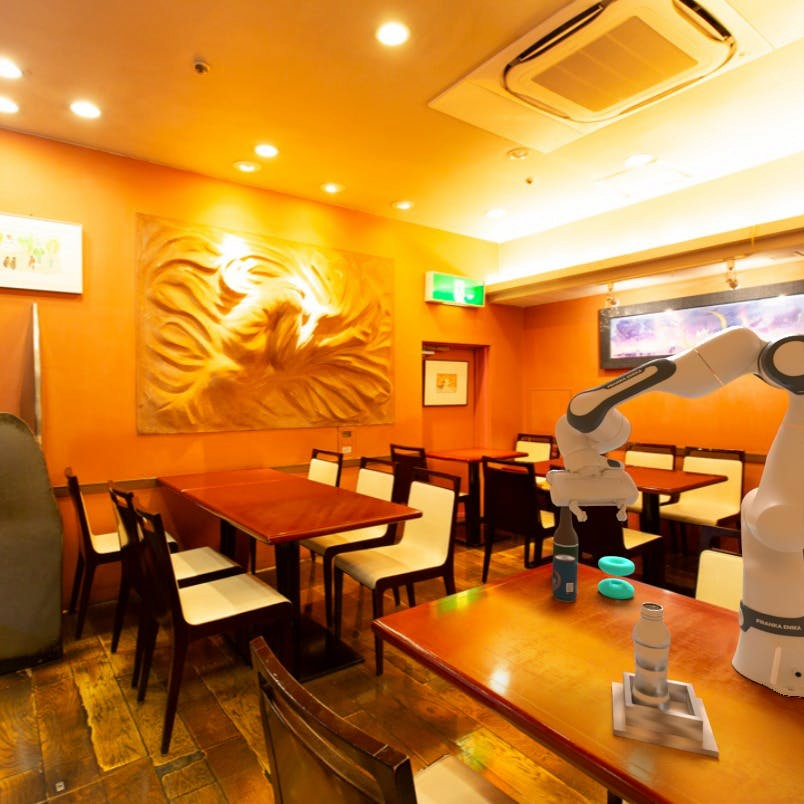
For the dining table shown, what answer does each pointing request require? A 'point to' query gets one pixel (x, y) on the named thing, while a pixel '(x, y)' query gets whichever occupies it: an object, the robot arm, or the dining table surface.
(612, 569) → the donuts
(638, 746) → the dining table surface
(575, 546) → the beer bottle
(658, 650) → the plastic bottle
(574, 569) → the soda can
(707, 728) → the bottle holder
